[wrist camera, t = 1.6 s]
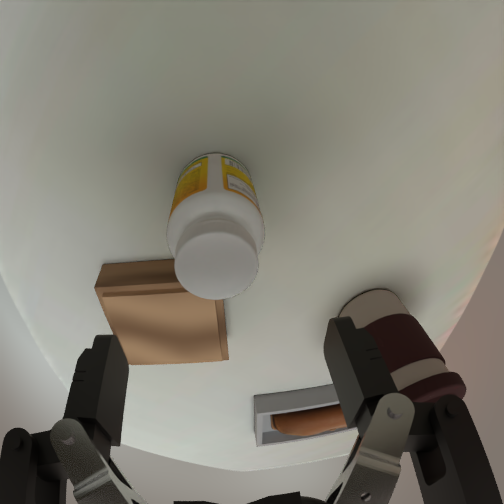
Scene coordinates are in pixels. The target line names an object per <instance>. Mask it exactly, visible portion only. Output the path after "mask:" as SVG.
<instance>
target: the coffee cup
mask: <svg viewBox="0 0 504 504" xmlns="http://www.w3.org/2000/svg"><path fill="white" fill-rule="evenodd" d="M345 316H350V317H351V318H352V320H353V323H354V325H355V327H356V329H358V328H364V329H365V330H367V331H368V332H369V333H370V334H371V335H372V336H373V338H374V340H375V342H376V344H377V346H378V350H380V352H381V355H382V358H383V359H384V361H385V363H386V365H387V367H388V370H389V372H390V374H391V376H392V378H393V381H394V383H395V385H396V387H397V389H398V391H399V392H400V394H403V395H405V396H406V397H408V398H409V399H410V400H411V401H413V402H432V403H436V402H437V401H438V400H439V399H440V398H441V397H442V396H444V395H449V394H451V395H455V396H458V397H459V398H461V399H463V397H464V395H465V393H466V386H465V384H464V382H463V380H462V378H461V377H460V375H459V374H457V373H455V372H449V371H448V369H447V367H446V366H445V360H444V358H443V357H442V355H441V354H440V352H439V351H438V349H437V348H436V346H435V345H434V344H433V342H432V341H431V339H430V338H429V336H428V335H427V333H426V332H425V331H424V329H423V328H422V326H421V325H420V324H419V322H418V321H417V320H416V319H415V318H414V317H413V316H411V315H410V313H409V312H408V311H407V309H406V308H405V307H404V305H403V304H402V302H401V301H400V300H399V298H398V297H397V296H396V295H395V294H394V293H392V292H390V291H388V290H380V289H379V290H372V291H369V292H366V293H363V294H361V295H359V296H358V297H356V298H355V299H353V300H352V301H351V302H349V303H348V304H347V305H346V306H345V308H344V309H343V310H342V312H341V314H340V316H339V317H345Z"/></svg>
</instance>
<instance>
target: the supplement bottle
mask: <svg viewBox="0 0 504 504" xmlns="http://www.w3.org/2000/svg"><path fill="white" fill-rule="evenodd" d="M264 239H265V228H264V222H263V218H262V214H261V211H260V208H259V204H258V200H257V197H256V193H255V190H254V186H253V183H252V180H251V177H250V174H249V172H248V171H247V169H246V168H245V167H244V166H243V164H242V163H240V162H239V161H238V160H236V159H235V158H233V157H231V156H228V155H224V154H215V153H214V154H207V155H203V156H200V157H198V158H196V159H195V160H193V161H192V162H191V163H189V164H188V165H187V166H186V167H185V169H184V170H183V171H182V173H181V175H180V177H179V180H178V182H177V187H176V191H175V196H174V200H173V204H172V208H171V212H170V216H169V221H168V226H167V242H168V246H169V249H170V251H171V253H172V255H173V257H174V258H175V263H174V268H175V273H176V276H177V279H178V280H179V282H180V283H181V285H182V286H183V287H184V288H185V289H186V290H187V291H189V292H190V293H192V294H193V295H196V296H198V297H201V298H204V299H210V300H221V299H227V298H231V297H234V296H236V295H238V294H240V293H242V292H243V291H245V290H246V289H247V288H248V287H249V286H250V285H251V284H252V283H253V281H254V280H255V278H256V275H257V272H258V266H259V262H258V255H259V253H260V251H261V249H262V247H263V243H264Z"/></svg>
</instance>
